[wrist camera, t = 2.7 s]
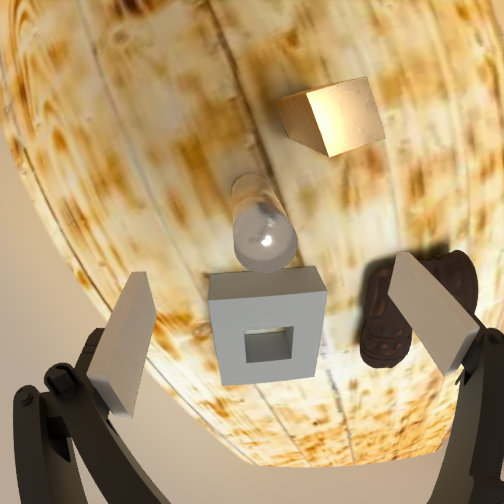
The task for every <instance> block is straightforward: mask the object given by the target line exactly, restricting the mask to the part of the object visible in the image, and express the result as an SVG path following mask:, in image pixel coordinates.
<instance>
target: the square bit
mask: <svg viewBox="0 0 504 504" xmlns="http://www.w3.org/2000/svg"><path fill="white" fill-rule="evenodd" d="M274 103H275V105H276V107H277V110H278V112H279V115H280V117H281V120H282V122H283V125H284V127H285V130H286V132H287V135H288V138H290V139H292V140H294V141H296V142H298V143H301V144H303V145H305V146H307V147H309V148H311V149H313V150H315V151H317V152H319V153H322V154H324V155H326V156H328V157H332V156H334V155H337V154H340V153H343V152H346V151H349V150H352V149H355V148H357V147H360V146H363V145H366V144H369V143H372V142H375V141H379V140H382V139H385V134H384V130H383V127H382V123H381V120H380V116H379V113H378V110H377V106H376V103H375V100H374V97H373V94H372V91H371V88H370V85H369V82H368V79H367V77H363V78H357V79H352V80H347V81H342V82H337V83H332V84H328V85H323V86H319V87H315V88H311V89H308V90H304V91H301V92H298V93H295V94H292V95H289V96H286V97H283V98H280V99H277V100H274Z"/></svg>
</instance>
